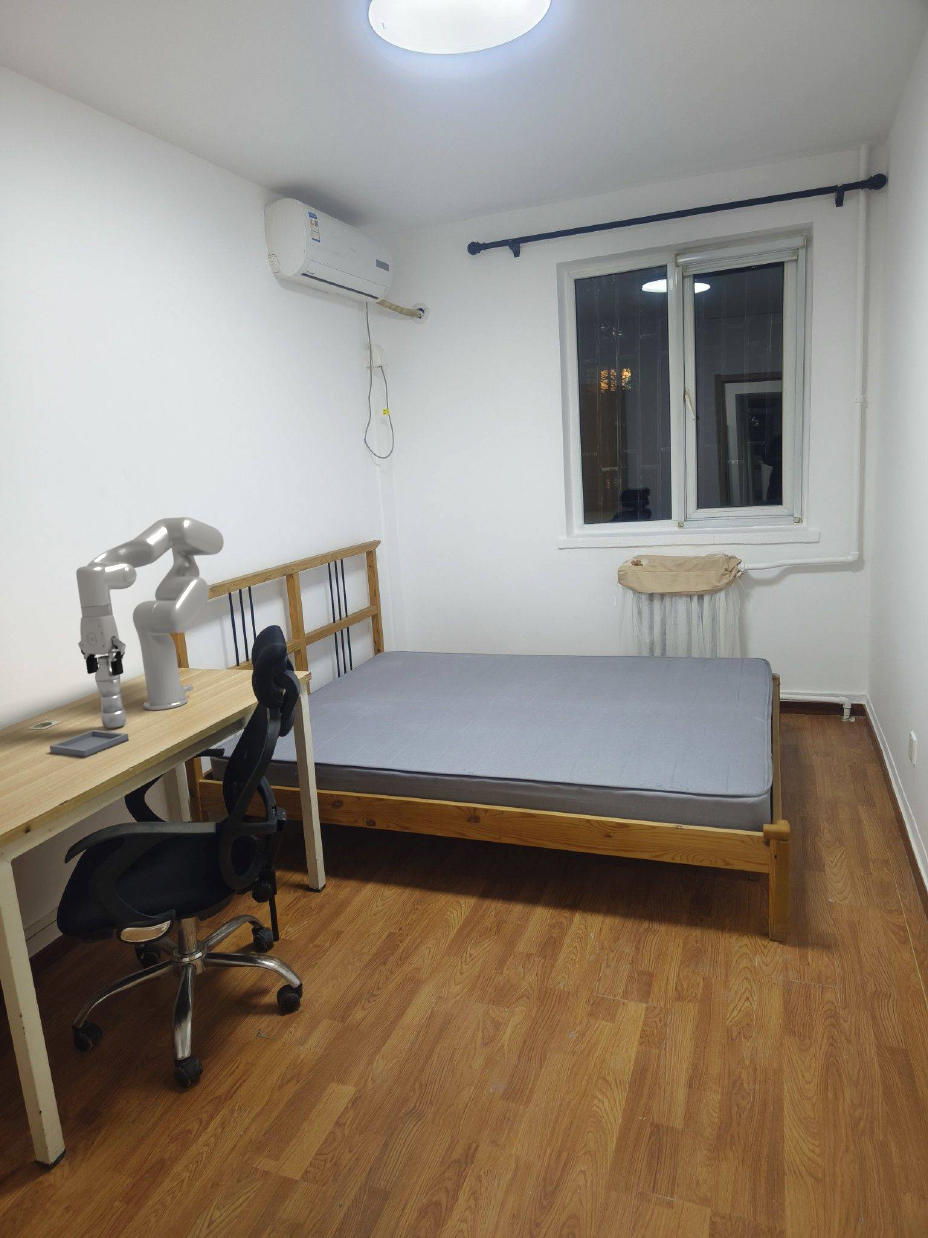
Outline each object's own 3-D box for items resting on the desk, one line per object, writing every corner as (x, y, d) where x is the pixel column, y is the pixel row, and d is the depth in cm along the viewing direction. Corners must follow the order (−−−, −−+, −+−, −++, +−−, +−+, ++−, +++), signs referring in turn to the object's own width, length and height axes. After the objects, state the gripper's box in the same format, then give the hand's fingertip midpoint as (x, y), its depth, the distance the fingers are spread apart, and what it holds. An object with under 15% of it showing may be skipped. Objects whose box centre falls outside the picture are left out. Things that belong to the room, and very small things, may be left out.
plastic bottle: (100, 732, 213) (89, 660, 210) (104, 725, 220) (93, 655, 216) (126, 728, 215) (115, 657, 211) (129, 721, 221) (119, 652, 218)
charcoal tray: (94, 736, 210) (93, 729, 210) (128, 740, 205) (127, 734, 204) (50, 752, 199) (49, 746, 199) (85, 758, 193) (84, 751, 193)
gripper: (63, 613, 212) (72, 675, 215) (107, 614, 204) (116, 678, 207) (87, 609, 219) (95, 669, 221) (131, 609, 211) (139, 672, 214)
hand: (105, 673), depth 214 cm, fingers open, 9 cm apart
